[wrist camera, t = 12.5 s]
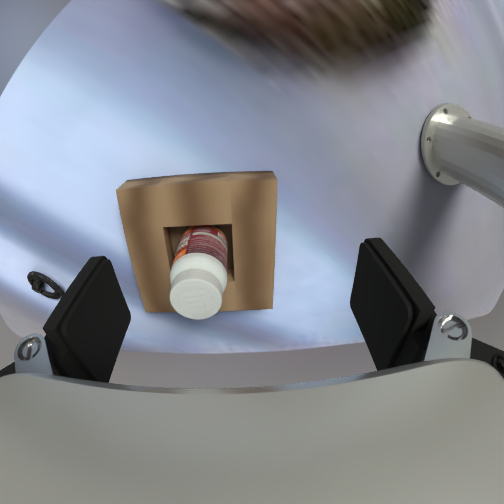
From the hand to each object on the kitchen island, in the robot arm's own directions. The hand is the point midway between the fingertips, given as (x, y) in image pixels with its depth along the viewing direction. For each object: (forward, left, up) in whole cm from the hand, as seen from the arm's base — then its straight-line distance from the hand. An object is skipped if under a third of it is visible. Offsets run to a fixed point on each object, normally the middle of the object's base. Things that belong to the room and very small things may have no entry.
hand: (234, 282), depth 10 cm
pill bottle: (+4, +11, -24) cm, 27 cm away
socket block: (+4, +11, -25) cm, 28 cm away
